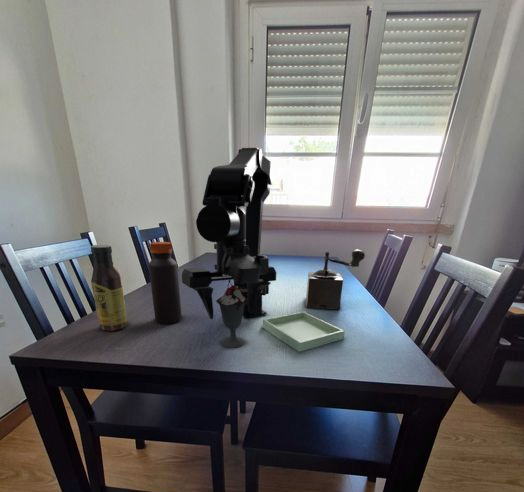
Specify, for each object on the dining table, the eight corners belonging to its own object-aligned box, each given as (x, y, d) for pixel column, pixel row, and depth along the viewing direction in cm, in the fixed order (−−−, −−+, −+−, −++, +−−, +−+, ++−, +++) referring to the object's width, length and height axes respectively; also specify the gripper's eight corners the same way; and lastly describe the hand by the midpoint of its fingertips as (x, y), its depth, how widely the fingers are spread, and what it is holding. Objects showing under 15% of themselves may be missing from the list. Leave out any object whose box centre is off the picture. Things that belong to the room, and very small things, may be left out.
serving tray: (262, 327, 72) (262, 319, 71) (302, 318, 78) (303, 311, 77) (299, 351, 60) (299, 342, 59) (343, 339, 66) (344, 330, 65)
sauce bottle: (96, 327, 70) (79, 245, 63) (121, 320, 74) (108, 243, 67) (106, 335, 66) (89, 248, 58) (132, 327, 70) (120, 245, 63)
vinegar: (175, 325, 72) (167, 245, 65) (150, 323, 73) (139, 243, 66) (186, 316, 78) (179, 242, 71) (163, 314, 79) (154, 241, 72)
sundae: (224, 352, 59) (221, 283, 53) (214, 339, 64) (210, 275, 58) (253, 345, 62) (253, 279, 56) (240, 333, 67) (239, 272, 61)
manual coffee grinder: (305, 308, 86) (310, 248, 79) (305, 298, 96) (309, 244, 90) (358, 312, 84) (367, 250, 78) (352, 301, 94) (360, 246, 88)
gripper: (198, 242, 44) (202, 335, 49) (294, 241, 53) (289, 320, 58) (178, 238, 53) (183, 317, 58) (263, 238, 62) (261, 306, 67)
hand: (231, 315), depth 60 cm, fingers open, 9 cm apart
